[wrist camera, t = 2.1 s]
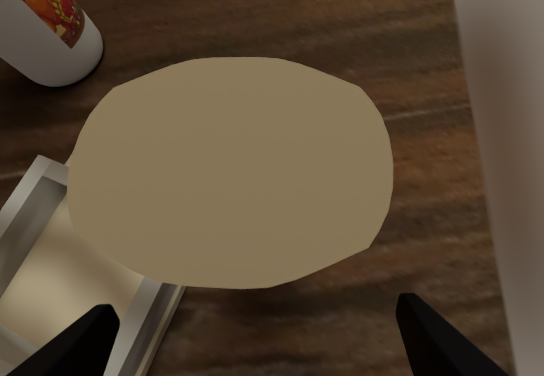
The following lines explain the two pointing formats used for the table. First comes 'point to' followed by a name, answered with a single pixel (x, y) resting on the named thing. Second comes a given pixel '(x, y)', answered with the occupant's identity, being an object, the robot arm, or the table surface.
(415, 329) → the robot arm
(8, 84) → the table surface
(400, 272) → the table surface
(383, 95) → the table surface
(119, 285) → the board
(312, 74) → the handle
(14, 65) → the milk bottle
